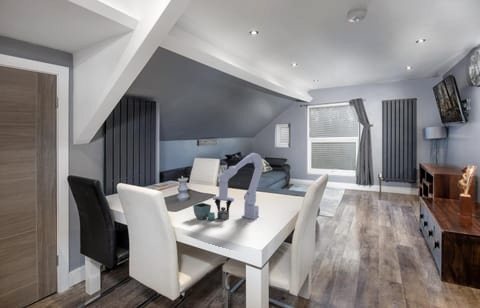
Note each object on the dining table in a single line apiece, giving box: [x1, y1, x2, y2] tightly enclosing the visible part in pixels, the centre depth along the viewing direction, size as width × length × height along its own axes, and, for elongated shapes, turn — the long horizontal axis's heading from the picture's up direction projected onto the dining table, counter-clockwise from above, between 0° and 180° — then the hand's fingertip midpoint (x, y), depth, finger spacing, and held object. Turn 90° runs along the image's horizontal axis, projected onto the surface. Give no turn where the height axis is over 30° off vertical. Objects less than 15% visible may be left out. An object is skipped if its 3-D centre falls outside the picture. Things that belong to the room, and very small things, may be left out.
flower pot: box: [192, 202, 212, 220], centre depth 160 cm, size 9×9×9 cm
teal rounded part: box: [207, 211, 216, 222], centre depth 157 cm, size 5×5×4 cm
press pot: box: [216, 209, 230, 221], centre depth 161 cm, size 8×9×4 cm
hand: (223, 211), depth 161 cm, fingers open, 6 cm apart
